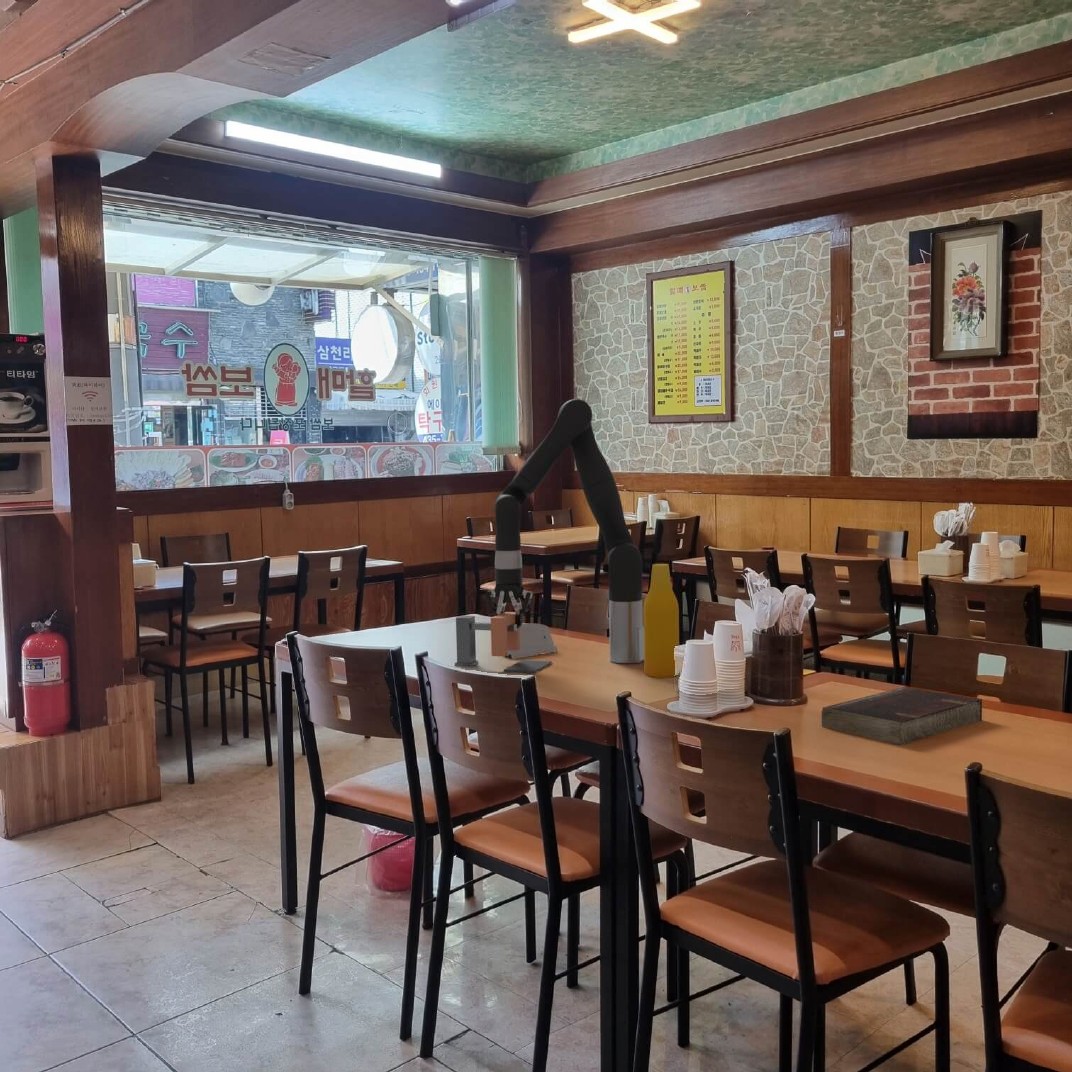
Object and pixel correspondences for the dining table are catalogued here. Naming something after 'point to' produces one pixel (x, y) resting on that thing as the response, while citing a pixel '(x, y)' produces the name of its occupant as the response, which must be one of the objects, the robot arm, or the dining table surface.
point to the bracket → (470, 639)
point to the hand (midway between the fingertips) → (510, 627)
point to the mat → (527, 666)
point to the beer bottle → (660, 625)
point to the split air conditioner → (533, 641)
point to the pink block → (504, 634)
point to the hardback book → (902, 715)
